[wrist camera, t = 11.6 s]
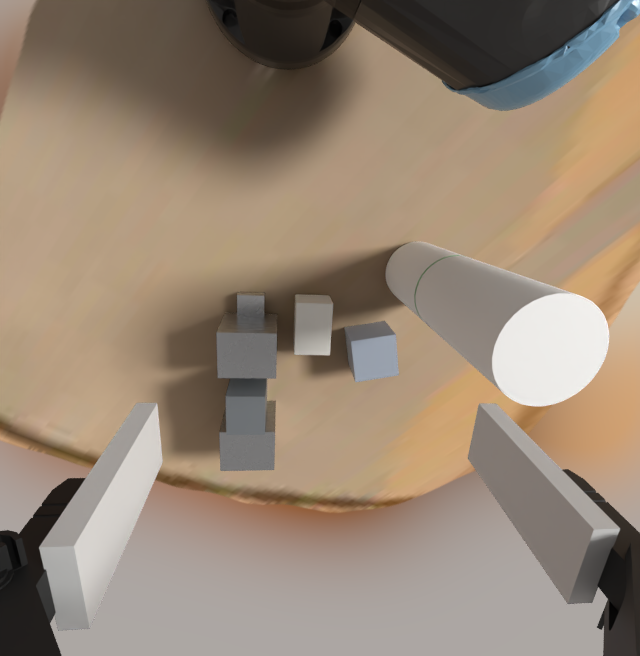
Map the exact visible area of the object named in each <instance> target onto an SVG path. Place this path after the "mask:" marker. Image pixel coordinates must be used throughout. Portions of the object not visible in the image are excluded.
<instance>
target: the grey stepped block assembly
mask: <svg viewBox="0 0 640 656" xmlns="http://www.w3.org/2000/svg"><path fill="white" fill-rule="evenodd" d="M216 337H217V371H218V378H274V379H276V358H277V314H265V293H257V292H238V294H237V313H225V315H224V317H223V319H222V321H221V323H220V326H219V328H218V330H217V332H216ZM275 408H276V401H267V410H266V426H265V435H226V408H225V412H224V416H223V420H222V424H221V428H220V432H219V437H220V470H221V471H243V470H274V455H275Z"/></svg>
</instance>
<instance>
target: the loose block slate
mask: <svg viewBox="0 0 640 656" xmlns="http://www.w3.org/2000/svg"><path fill="white" fill-rule="evenodd" d="M344 329H345V337H346V346H347V354H348V363H349V367H350V369H351V372H352V374H353V377H354V379H355V382H360V381H366V380H372V379H378V378H385V377H391V376H397V375H399V372H398V359H397V345H396V334H395V333H394V332H393V330H392V329H391V328H390V327H389V325H388V324H387V323H386V322H385V321H381V322H375V323H368V324H362V325H355V326H349V327H344Z"/></svg>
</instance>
